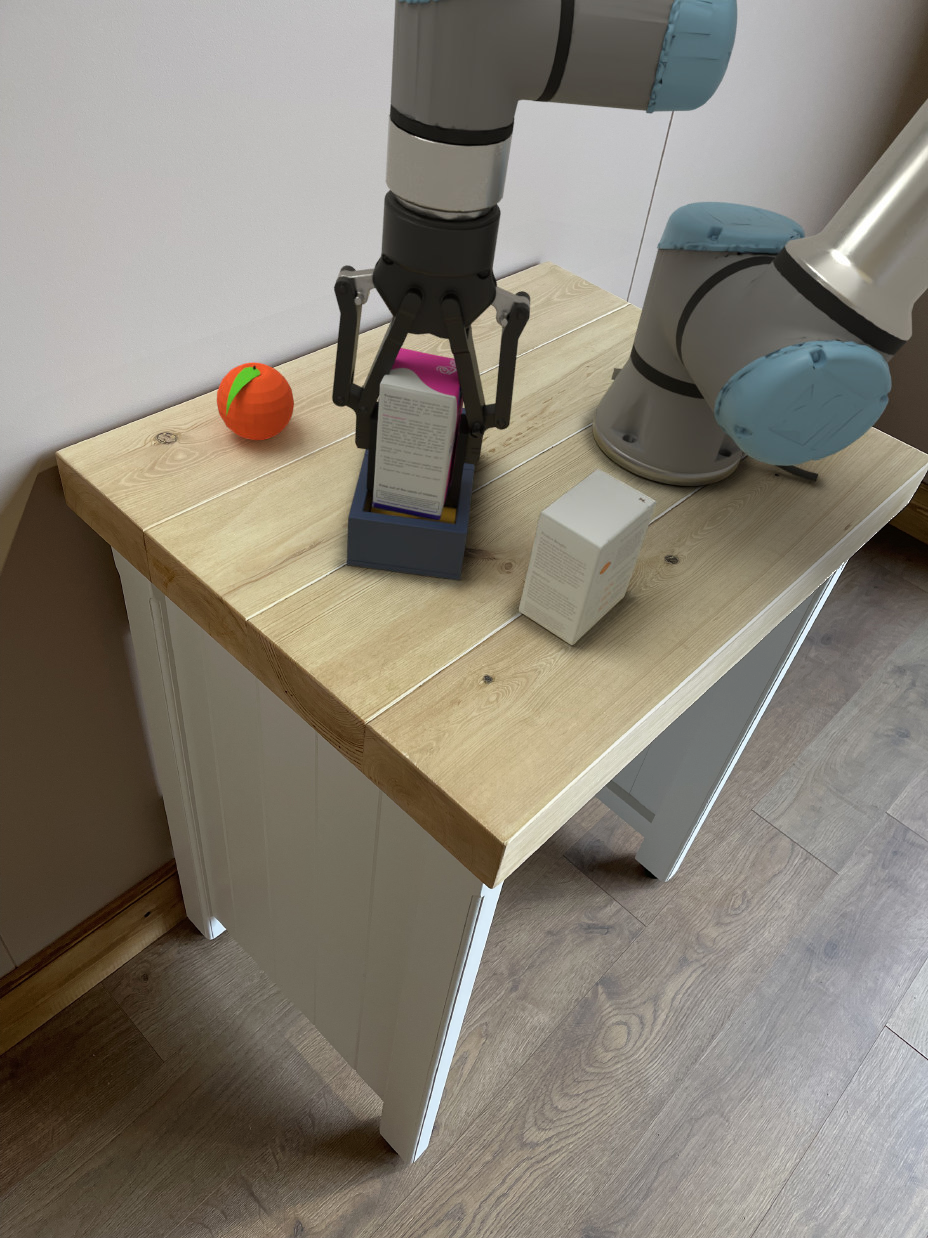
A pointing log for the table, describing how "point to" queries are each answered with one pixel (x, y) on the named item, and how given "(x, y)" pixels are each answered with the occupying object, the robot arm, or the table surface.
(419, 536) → the holder
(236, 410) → the clementine
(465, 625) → the table surface
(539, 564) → the small box
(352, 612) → the table surface
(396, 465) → the supplement box
